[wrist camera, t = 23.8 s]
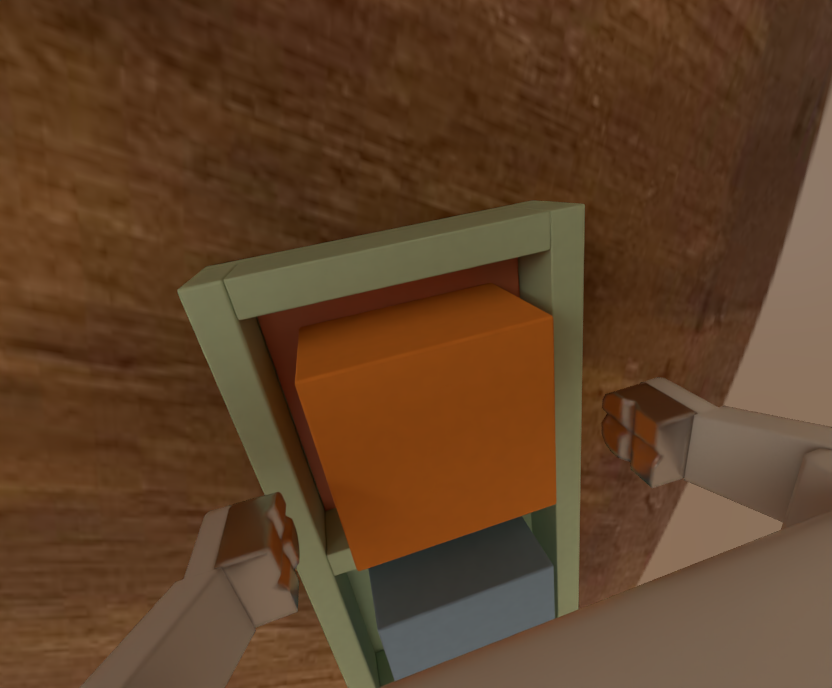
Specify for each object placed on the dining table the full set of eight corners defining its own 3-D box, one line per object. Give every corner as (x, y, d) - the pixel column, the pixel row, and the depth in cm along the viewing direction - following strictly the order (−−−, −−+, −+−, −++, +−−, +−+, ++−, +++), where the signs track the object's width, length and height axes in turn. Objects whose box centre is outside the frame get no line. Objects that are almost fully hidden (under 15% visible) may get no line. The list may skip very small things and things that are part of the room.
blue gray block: (506, 491, 16) (554, 565, 13) (515, 585, 18) (557, 667, 15) (363, 538, 15) (377, 631, 12) (392, 631, 18) (410, 729, 14)
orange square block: (492, 281, 12) (555, 315, 9) (504, 435, 15) (557, 504, 11) (298, 326, 11) (293, 382, 8) (346, 484, 14) (357, 573, 11)
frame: (533, 199, 12) (586, 203, 10) (547, 586, 20) (578, 639, 18) (203, 267, 11) (174, 289, 8) (357, 658, 19) (363, 727, 16)
